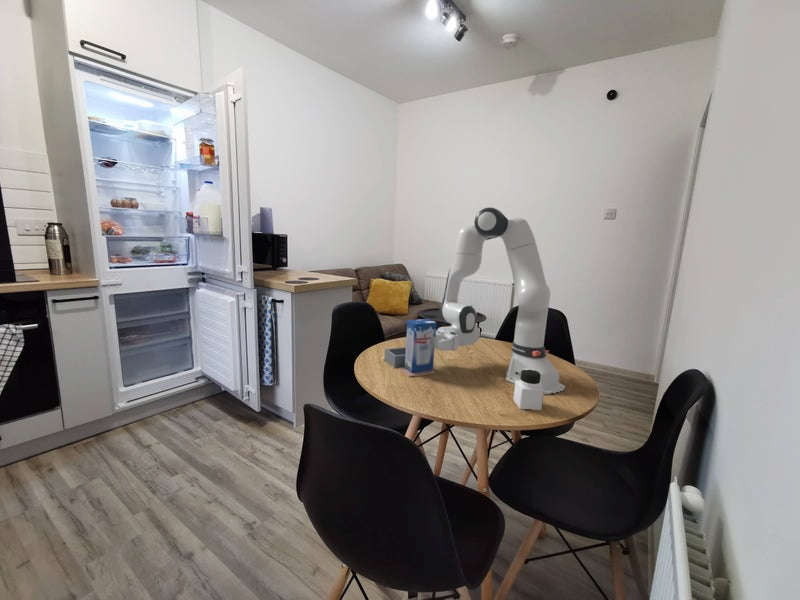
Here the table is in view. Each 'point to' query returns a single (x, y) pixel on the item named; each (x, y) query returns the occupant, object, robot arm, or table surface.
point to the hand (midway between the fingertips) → (416, 340)
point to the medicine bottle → (529, 390)
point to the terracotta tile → (414, 373)
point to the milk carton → (419, 345)
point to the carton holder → (395, 357)
